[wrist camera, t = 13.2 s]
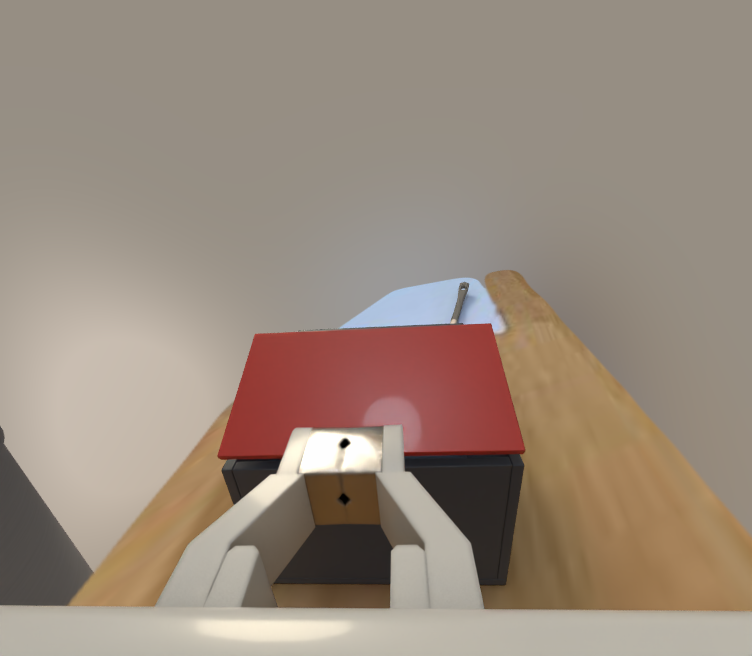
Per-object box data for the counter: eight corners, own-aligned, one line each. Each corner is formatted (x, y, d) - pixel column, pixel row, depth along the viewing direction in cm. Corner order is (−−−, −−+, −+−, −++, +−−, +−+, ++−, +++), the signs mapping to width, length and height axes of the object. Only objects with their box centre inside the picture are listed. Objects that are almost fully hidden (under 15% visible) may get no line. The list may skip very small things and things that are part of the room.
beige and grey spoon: (466, 370, 30) (465, 411, 33) (485, 258, 53) (483, 287, 55) (398, 363, 32) (401, 402, 34) (444, 258, 55) (444, 286, 57)
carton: (506, 585, 18) (524, 465, 14) (261, 583, 19) (220, 470, 15) (459, 410, 31) (463, 322, 27) (314, 414, 32) (298, 330, 28)
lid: (523, 454, 14) (526, 450, 14) (220, 459, 15) (216, 456, 15) (490, 328, 19) (491, 323, 18) (257, 338, 20) (254, 333, 19)
